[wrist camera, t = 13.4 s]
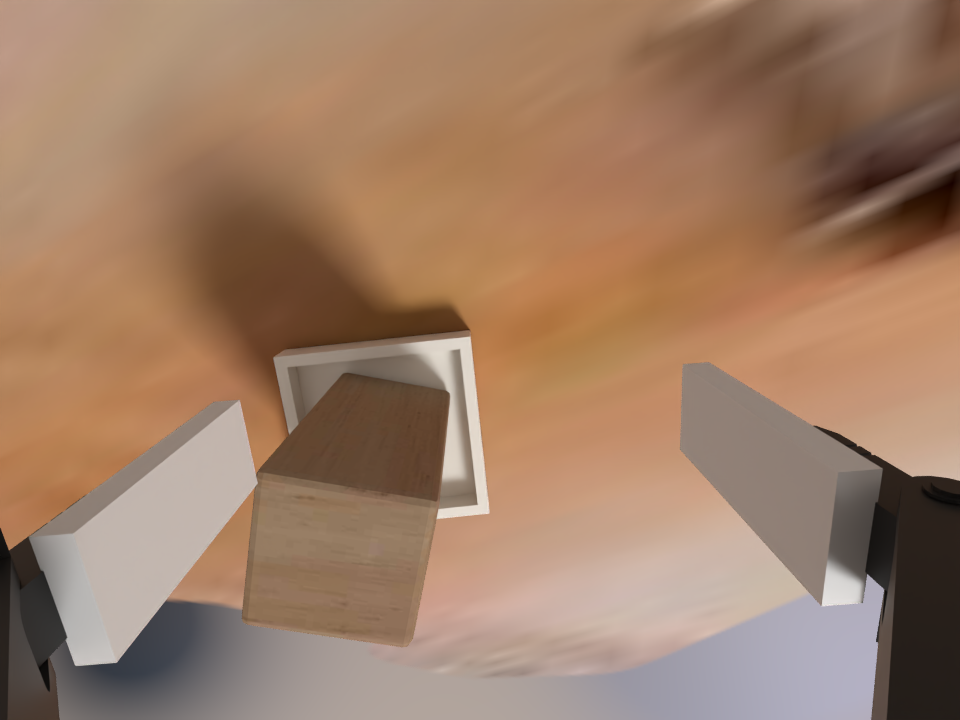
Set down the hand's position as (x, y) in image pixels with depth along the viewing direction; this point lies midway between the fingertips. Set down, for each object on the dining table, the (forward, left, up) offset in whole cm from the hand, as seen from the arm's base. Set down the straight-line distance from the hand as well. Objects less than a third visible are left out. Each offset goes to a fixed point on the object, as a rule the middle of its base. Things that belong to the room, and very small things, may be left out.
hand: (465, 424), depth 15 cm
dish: (+12, -9, -32) cm, 35 cm away
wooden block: (+12, -9, -31) cm, 34 cm away
